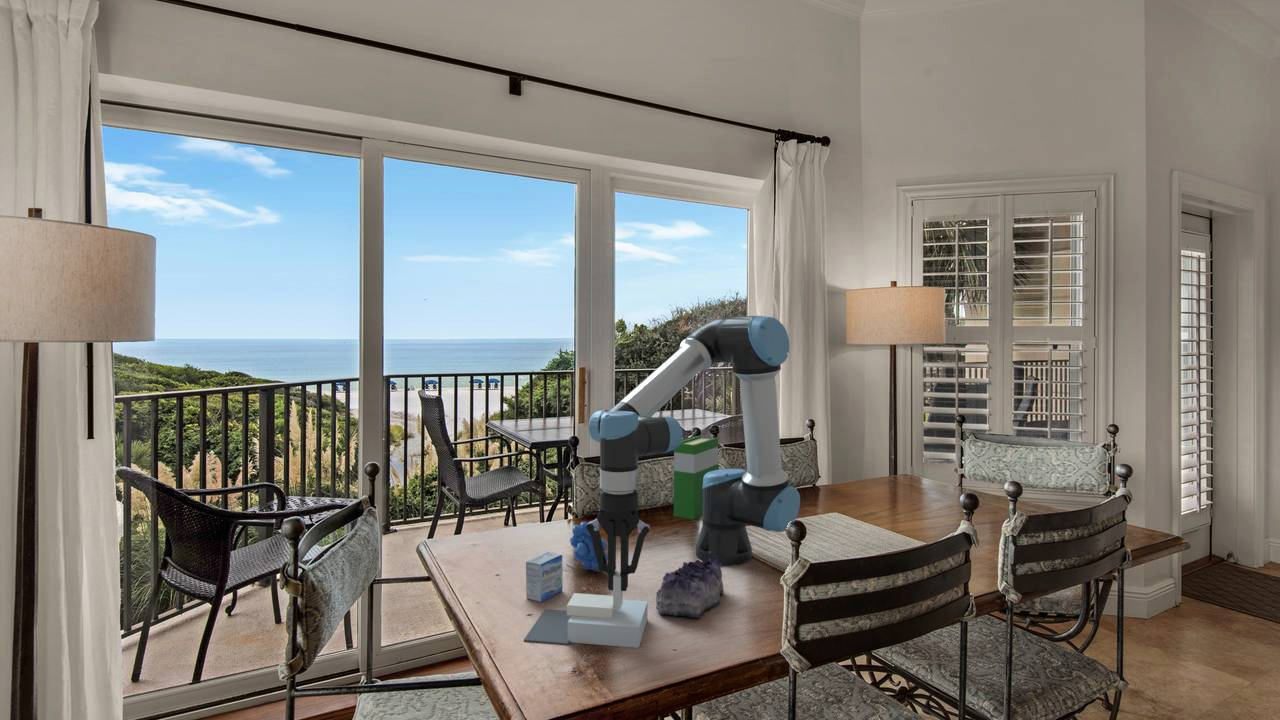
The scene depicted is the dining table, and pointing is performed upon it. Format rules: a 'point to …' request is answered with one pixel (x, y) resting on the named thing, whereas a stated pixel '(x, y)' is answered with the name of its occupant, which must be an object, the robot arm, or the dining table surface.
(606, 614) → the cream rectangular box
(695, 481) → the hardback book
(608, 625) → the block
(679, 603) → the geode
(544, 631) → the mat
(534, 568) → the medicine box
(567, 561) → the dining table surface
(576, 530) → the grapes
